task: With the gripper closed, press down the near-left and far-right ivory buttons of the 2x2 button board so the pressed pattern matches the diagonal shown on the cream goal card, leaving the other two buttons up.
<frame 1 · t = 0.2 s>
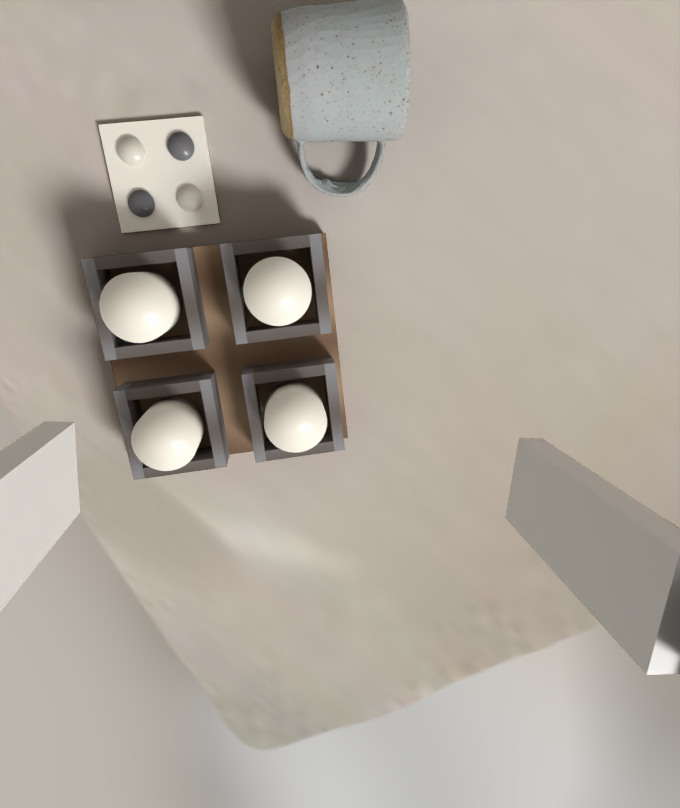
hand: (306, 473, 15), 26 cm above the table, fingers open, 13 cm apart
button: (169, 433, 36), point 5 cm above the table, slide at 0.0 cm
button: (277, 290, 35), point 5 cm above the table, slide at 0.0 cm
ceramic mug: (338, 116, 37), on the table
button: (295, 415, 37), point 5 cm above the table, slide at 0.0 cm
goal card: (162, 176, 36), on the table
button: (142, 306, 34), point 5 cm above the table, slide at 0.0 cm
button board: (228, 352, 40), on the table
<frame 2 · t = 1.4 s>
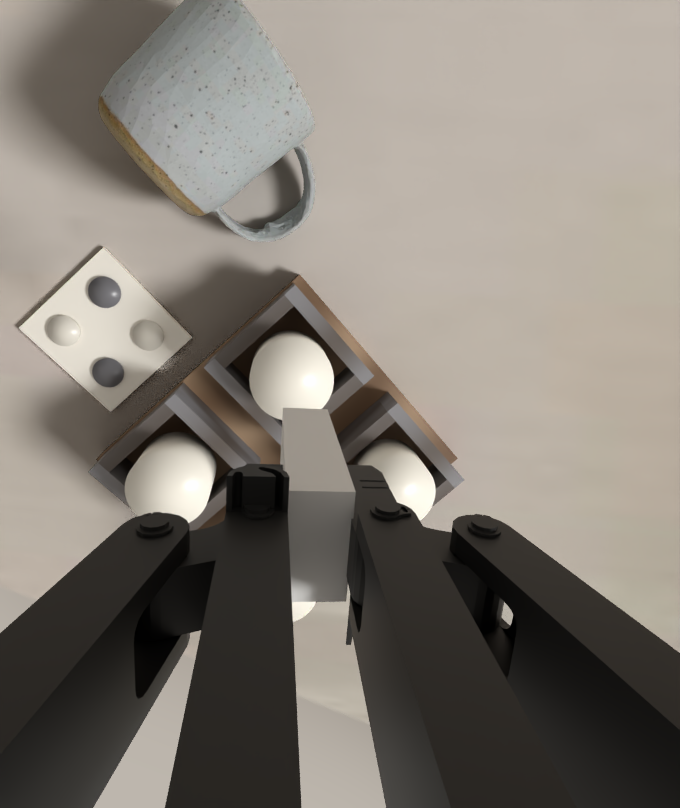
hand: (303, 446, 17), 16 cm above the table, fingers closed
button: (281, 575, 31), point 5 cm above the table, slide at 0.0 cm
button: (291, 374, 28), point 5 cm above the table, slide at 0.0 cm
ceramic mug: (236, 148, 29), on the table
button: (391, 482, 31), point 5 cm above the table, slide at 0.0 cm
goal card: (108, 332, 31), on the table
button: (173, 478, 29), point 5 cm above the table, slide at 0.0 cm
button board: (284, 452, 34), on the table
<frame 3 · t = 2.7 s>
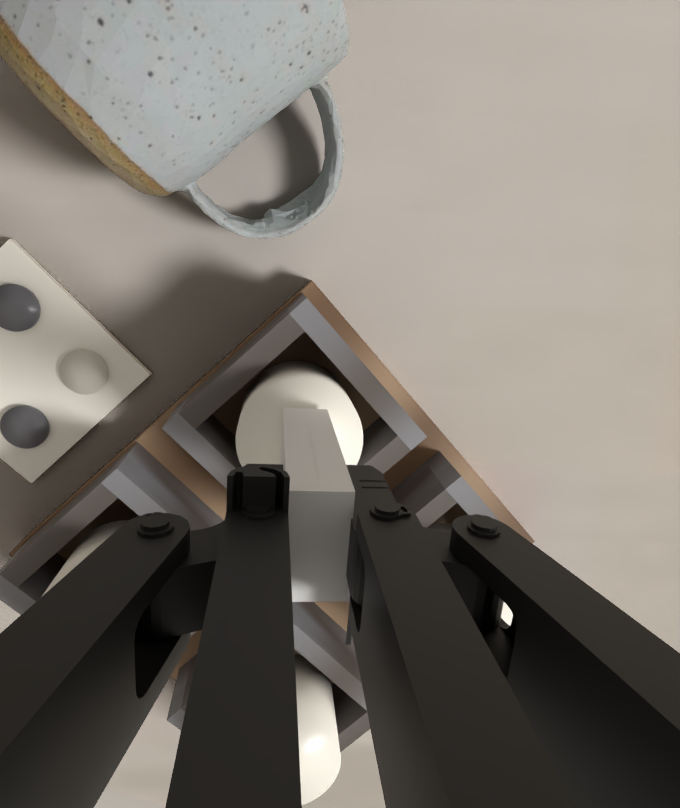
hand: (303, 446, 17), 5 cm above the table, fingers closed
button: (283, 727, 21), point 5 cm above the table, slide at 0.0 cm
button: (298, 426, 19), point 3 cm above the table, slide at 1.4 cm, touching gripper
ceramic mug: (221, 95, 19), on the table
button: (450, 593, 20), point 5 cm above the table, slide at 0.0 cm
goal card: (24, 367, 21), on the table
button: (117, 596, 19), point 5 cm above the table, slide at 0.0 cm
button board: (288, 533, 24), on the table
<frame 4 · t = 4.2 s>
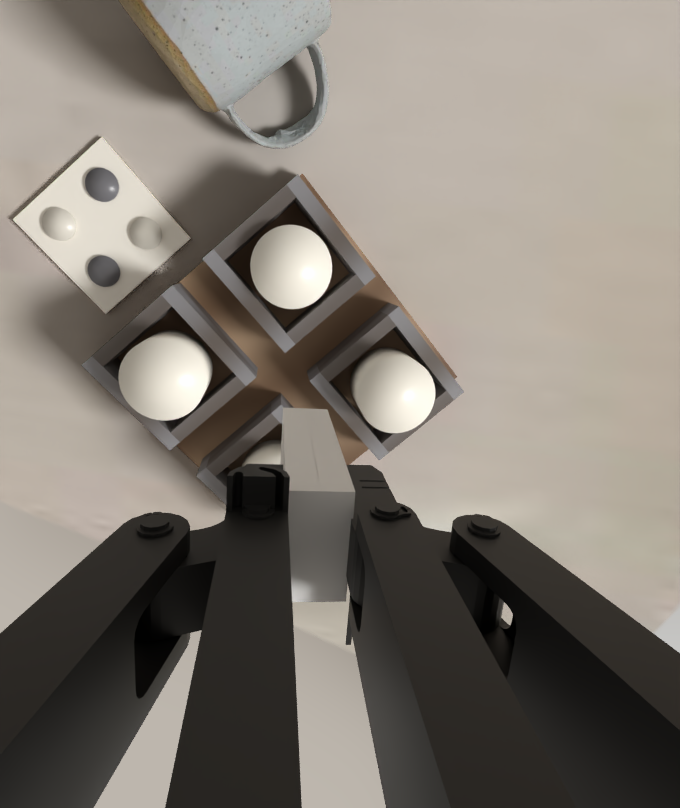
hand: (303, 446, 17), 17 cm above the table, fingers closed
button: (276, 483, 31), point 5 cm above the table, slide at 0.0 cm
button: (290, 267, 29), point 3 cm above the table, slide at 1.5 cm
ceramic mug: (249, 52, 29), on the table
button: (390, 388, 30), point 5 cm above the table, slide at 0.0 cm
goal card: (105, 229, 30), on the table
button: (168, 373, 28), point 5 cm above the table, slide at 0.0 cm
button board: (282, 365, 34), on the table
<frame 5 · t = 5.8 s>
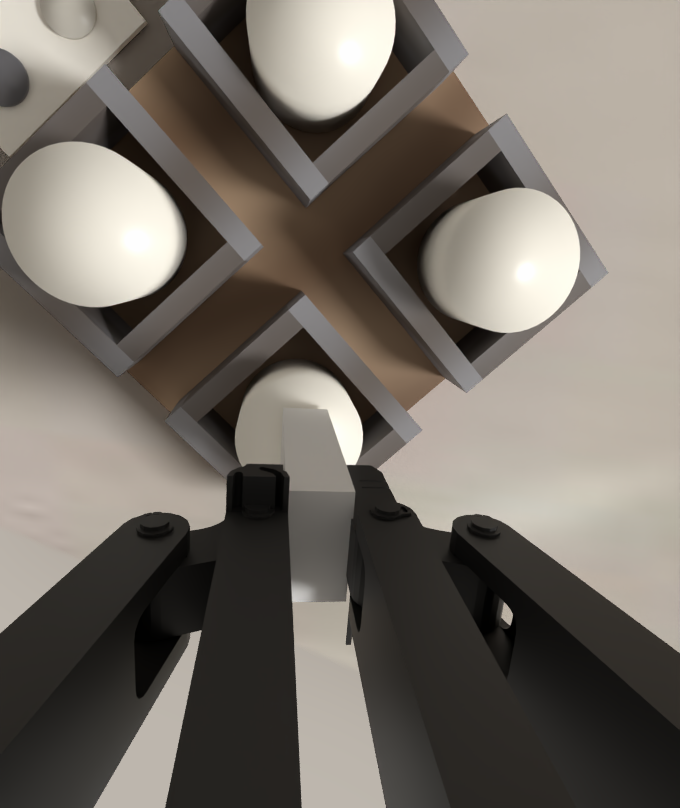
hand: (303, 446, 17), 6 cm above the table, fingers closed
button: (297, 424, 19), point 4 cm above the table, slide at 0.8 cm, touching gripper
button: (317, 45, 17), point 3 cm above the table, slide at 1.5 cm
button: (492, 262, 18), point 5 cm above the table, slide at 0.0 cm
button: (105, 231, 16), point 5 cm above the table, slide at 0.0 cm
button board: (302, 250, 21), on the table
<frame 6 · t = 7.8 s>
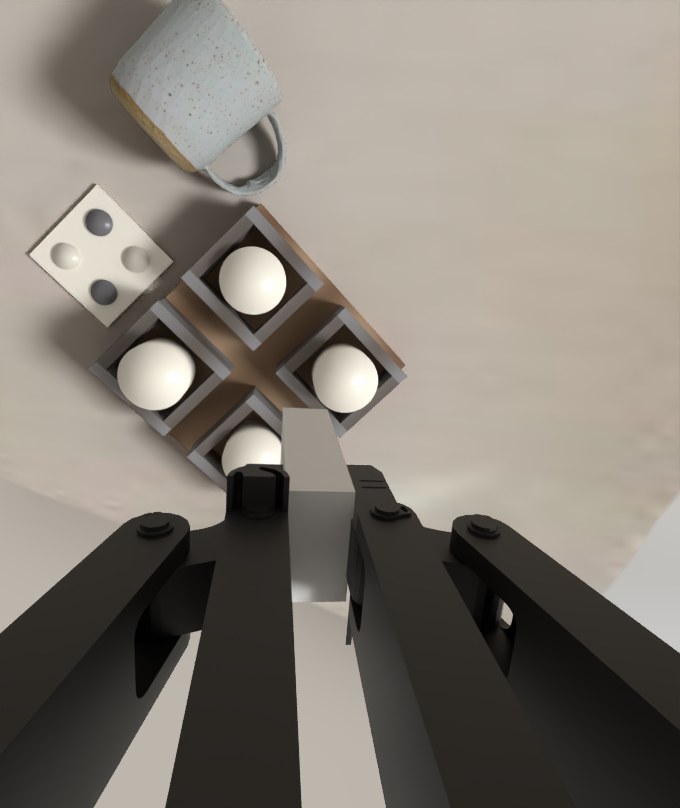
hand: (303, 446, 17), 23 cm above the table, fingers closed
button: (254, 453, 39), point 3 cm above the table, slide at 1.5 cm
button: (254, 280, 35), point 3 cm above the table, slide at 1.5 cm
ceramic mug: (222, 120, 36), on the table
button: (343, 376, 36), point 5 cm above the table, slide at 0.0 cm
goal card: (103, 258, 37), on the table
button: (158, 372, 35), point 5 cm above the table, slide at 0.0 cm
button board: (256, 363, 40), on the table
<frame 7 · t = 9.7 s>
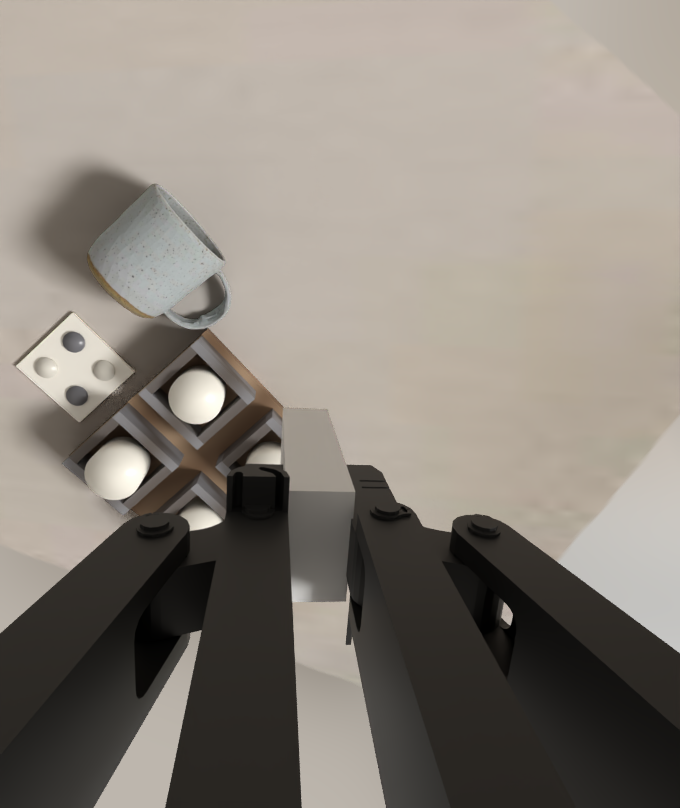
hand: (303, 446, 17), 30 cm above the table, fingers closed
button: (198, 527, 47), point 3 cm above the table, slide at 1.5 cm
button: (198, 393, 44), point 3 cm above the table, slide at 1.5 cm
ceramic mug: (180, 267, 44), on the table
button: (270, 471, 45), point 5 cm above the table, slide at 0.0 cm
goal card: (77, 368, 45), on the table
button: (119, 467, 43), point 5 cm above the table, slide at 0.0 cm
button board: (203, 450, 48), on the table
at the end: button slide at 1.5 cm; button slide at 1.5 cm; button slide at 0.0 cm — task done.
